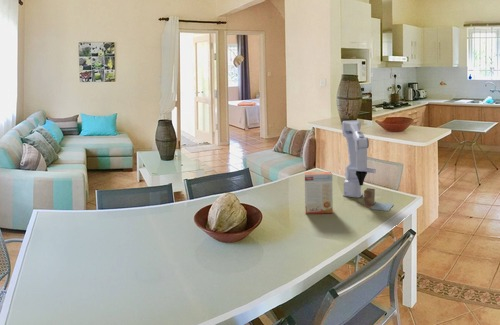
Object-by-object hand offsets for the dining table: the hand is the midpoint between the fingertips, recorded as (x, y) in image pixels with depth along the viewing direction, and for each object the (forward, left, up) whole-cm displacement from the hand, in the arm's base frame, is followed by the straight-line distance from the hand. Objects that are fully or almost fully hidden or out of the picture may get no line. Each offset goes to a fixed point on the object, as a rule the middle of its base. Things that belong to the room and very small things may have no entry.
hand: (361, 185), depth 234 cm
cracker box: (-16, -22, -11) cm, 29 cm away
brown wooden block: (+5, -1, -11) cm, 12 cm away
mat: (+12, -1, -10) cm, 16 cm away
